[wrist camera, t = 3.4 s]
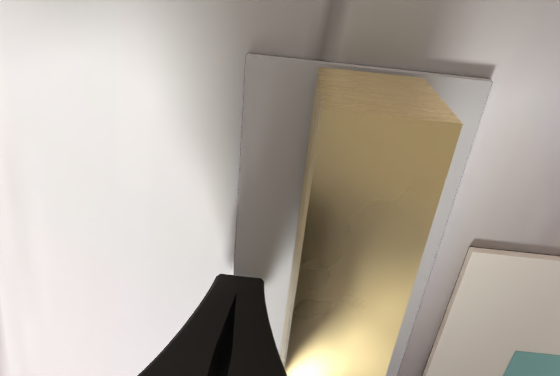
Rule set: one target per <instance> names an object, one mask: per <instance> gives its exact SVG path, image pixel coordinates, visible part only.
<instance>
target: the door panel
mask: <svg viewBox="0 0 560 376" xmlns="http://www.w3.org/2000/svg"><path fill="white" fill-rule="evenodd" d="M318 67H325V68H335V69H344V70H353V71H363V72H372V73H382V74H391V75H401V76H410V77H420V78H425V80H426V81H427V82H428V83H429V84H430V85H431V87H432V88H433V89H434V90H435V91H436V93H437V94H438V95H439V96H440V97H441V98H442V100H443V101H444V102H445V103H446V104H447V105H448V107H449V108H450V109H451V110H452V111H453V113H454V114H455V115H456V116H457V117H458V118H459V120H460V121H461V122H462V123H463V125H462V129H461V132H460V135H459V138H458V142H457V145H456V148H455V151H454V155H453V158H452V161H451V164H450V168H449V171H448V174H447V178H446V181H445V184H444V187H443V191H442V194H441V197H440V200H439V204H438V207H437V210H436V213H435V217H434V220H433V223H432V226H431V230H430V233H429V236H428V239H427V243H426V246H425V249H424V252H423V256H422V259H421V262H420V265H419V269H418V272H417V275H416V278H415V282H414V285H413V288H412V291H411V295H410V298H409V301H408V304H407V308H406V311H405V314H404V317H403V321H402V324H401V327H400V330H399V334H398V337H397V340H396V343H395V347H394V350H393V353H392V356H391V360H390V363H389V366H388V369H387V373H386V376H397V374H398V371H399V368H400V365H401V362H402V359H403V356H404V353H405V350H406V347H407V344H408V341H409V338H410V335H411V332H412V328H413V325H414V322H415V319H416V316H417V313H418V310H419V307H420V304H421V301H422V298H423V295H424V292H425V289H426V286H427V282H428V279H429V276H430V273H431V270H432V267H433V264H434V261H435V258H436V255H437V252H438V249H439V246H440V243H441V240H442V236H443V233H444V230H445V227H446V224H447V221H448V218H449V215H450V212H451V209H452V206H453V203H454V200H455V197H456V194H457V190H458V187H459V184H460V181H461V178H462V175H463V172H464V169H465V166H466V163H467V160H468V157H469V154H470V151H471V147H472V144H473V141H474V138H475V135H476V132H477V129H478V126H479V123H480V120H481V117H482V114H483V111H484V108H485V105H486V101H487V98H488V95H489V92H490V89H491V86H492V83H493V81H491V80H490V79H485V78H476V77H467V76H457V75H448V74H438V73H429V72H419V71H410V70H400V69H391V68H382V67H372V66H363V65H353V64H344V63H334V62H325V61H316V60H306V59H297V58H287V57H278V56H268V55H259V54H249V53H247V54H246V61H245V79H244V98H243V116H242V134H241V152H240V170H239V188H238V207H237V225H236V243H235V261H234V275H235V276H245V277H254V278H261V279H262V280H263V281H264V294H265V302H266V308H267V313H268V318H269V322H270V326H271V329H272V333H273V337H274V340H275V343H276V347H277V349H278V352H279V355H280V358H281V342H282V335H283V327H284V320H285V312H286V305H287V297H288V290H289V282H290V275H291V267H292V260H293V252H294V245H295V237H296V230H297V222H298V215H299V207H300V200H301V192H302V185H303V177H304V170H305V162H306V155H307V147H308V140H309V132H310V125H311V117H312V110H313V102H314V95H315V87H316V80H317V72H318ZM422 376H560V256H551V255H542V254H532V253H523V252H513V251H504V250H494V249H485V248H475V247H469V250H468V253H467V255H466V258H465V261H464V264H463V266H462V269H461V272H460V274H459V277H458V280H457V283H456V285H455V288H454V291H453V294H452V296H451V299H450V302H449V304H448V307H447V310H446V313H445V315H444V318H443V321H442V324H441V326H440V329H439V332H438V334H437V337H436V340H435V343H434V345H433V348H432V351H431V354H430V356H429V359H428V362H427V365H426V367H425V370H424V373H423V375H422Z"/></svg>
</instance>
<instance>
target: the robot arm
mask: <svg viewBox="0 0 560 376" xmlns="http://www.w3.org/2000/svg"><path fill="white" fill-rule="evenodd" d="M138 376H287V374H286V371H285V369H284V366H283V363H282V361H281V358H280V355H279V352H278V349H277V347H276V343H275V340H274V337H273V333H272V329H271V326H270V322H269V318H268V313H267V308H266V302H265V294H264V281H263V280H262V279H261V278H254V277H245V276H235V275H225V274H219V275H218V276H217V277H216V278H215V280H214V282H213V284H212V286H211V287H210V289H209V291H208V292H207V294H206V296H205V297H204V299H203V300H202V302H201V303H200V304H199V306H198V307H197V309H196V310H195V311H194V313H193V314H192V315H191V317H190V318H189V319H188V321H187V322H186V323H185V325H184V326H183V327H182V328H181V330H180V331H179V332H178V333H177V334H176V336H175V337H174V338H173V339H172V340H171V342H170V343H169V344H168V345H167V346H166V347H165V348H164V349H163V351H162V352H161V353H160V354H159V355H158V356H157V357H156V358H155V359H154V360H153V361H152V362H151V363H150V364H149V365H148V366H147V367H146V368H145V369H144V370H143V371H142V372H141V373H140V374H139V375H138Z"/></svg>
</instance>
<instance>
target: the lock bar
mask: <svg viewBox="0 0 560 376" xmlns="http://www.w3.org/2000/svg"><path fill="white" fill-rule="evenodd" d="M462 125H463V123H462V122H461V121H460V120H459V118H458V117H457V116H456V115H455V114H454V113H453V111H452V110H451V109H450V108H449V107H448V105H447V104H446V103H445V102H444V101H443V100H442V98H441V97H440V96H439V95H438V94H437V93H436V91H435V90H434V89H433V88H432V87H431V85H430V84H429V83H428V82H427V81H426V80H425V78H420V77H410V76H401V75H391V74H382V73H372V72H363V71H353V70H344V69H335V68H325V67H318V72H317V80H316V87H315V95H314V102H313V110H312V117H311V125H310V132H309V140H308V147H307V155H306V162H305V170H304V177H303V185H302V192H301V200H300V207H299V215H298V222H297V230H296V237H295V245H294V252H293V260H292V267H291V275H290V282H289V290H288V297H287V305H286V312H285V320H284V327H283V335H282V342H281V361H282V363H283V366H284V369H285V371H286V374H287V376H386V373H387V369H388V366H389V363H390V360H391V356H392V353H393V350H394V347H395V343H396V340H397V337H398V334H399V330H400V327H401V324H402V321H403V317H404V314H405V311H406V308H407V304H408V301H409V298H410V295H411V291H412V288H413V285H414V282H415V278H416V275H417V272H418V269H419V265H420V262H421V259H422V256H423V252H424V249H425V246H426V243H427V239H428V236H429V233H430V230H431V226H432V223H433V220H434V217H435V213H436V210H437V207H438V204H439V200H440V197H441V194H442V191H443V187H444V184H445V181H446V178H447V174H448V171H449V168H450V164H451V161H452V158H453V155H454V151H455V148H456V145H457V142H458V138H459V135H460V132H461V129H462Z"/></svg>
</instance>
